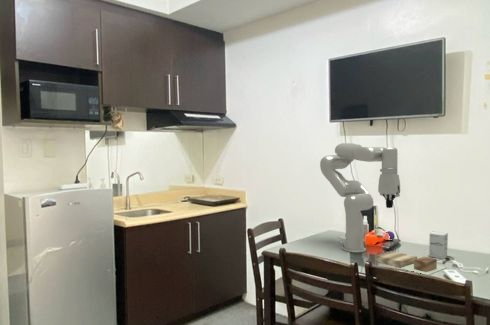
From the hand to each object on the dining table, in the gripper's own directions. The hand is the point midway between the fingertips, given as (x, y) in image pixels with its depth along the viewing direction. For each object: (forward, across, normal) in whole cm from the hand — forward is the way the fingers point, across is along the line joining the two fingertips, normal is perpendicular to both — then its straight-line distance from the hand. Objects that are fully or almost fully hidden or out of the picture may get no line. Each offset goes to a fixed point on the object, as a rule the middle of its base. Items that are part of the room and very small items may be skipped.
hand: (389, 207), depth 197 cm
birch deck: (+27, +4, 0) cm, 27 cm away
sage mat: (+27, +18, 0) cm, 33 cm away
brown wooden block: (+24, +19, -1) cm, 31 cm away
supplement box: (+27, +12, +26) cm, 40 cm away
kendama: (+28, -25, +32) cm, 49 cm away
